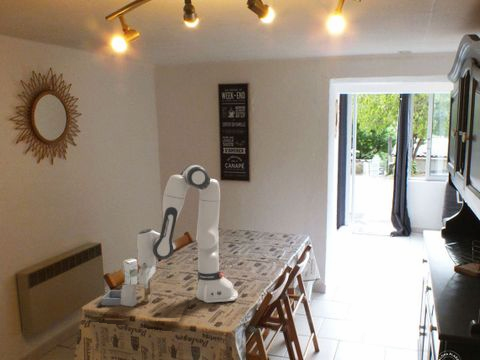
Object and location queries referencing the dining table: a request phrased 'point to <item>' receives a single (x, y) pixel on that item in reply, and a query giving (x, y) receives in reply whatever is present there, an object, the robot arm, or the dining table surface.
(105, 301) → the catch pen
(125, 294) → the white rectangular block
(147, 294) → the scraper
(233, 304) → the dining table surface
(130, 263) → the syrup box
